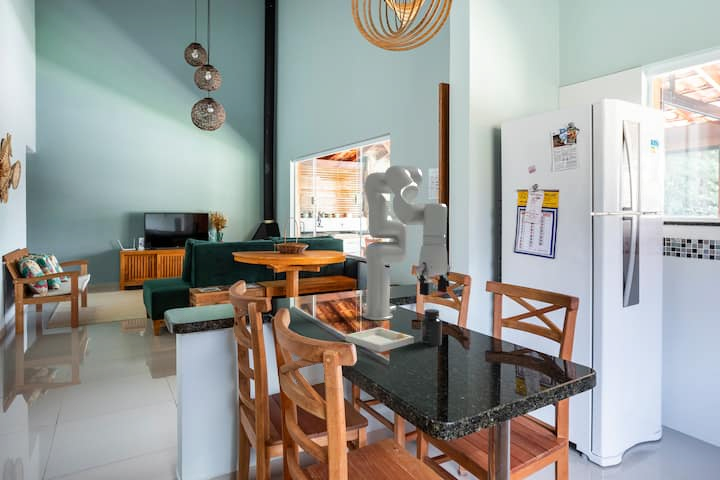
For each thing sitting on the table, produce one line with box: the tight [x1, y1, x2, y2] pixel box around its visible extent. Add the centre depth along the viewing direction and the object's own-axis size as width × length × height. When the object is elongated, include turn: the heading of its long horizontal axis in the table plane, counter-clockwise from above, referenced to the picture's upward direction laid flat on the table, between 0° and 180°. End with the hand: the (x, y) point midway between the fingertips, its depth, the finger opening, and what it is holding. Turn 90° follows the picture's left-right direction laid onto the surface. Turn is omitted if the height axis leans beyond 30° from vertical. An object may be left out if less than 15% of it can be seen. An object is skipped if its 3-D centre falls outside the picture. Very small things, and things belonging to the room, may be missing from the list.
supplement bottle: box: [420, 308, 443, 347], centre depth 150 cm, size 7×7×12 cm
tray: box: [345, 326, 415, 353], centre depth 150 cm, size 16×16×3 cm
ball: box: [397, 332, 406, 340], centre depth 150 cm, size 3×3×3 cm
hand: (433, 293), depth 149 cm, fingers open, 9 cm apart
